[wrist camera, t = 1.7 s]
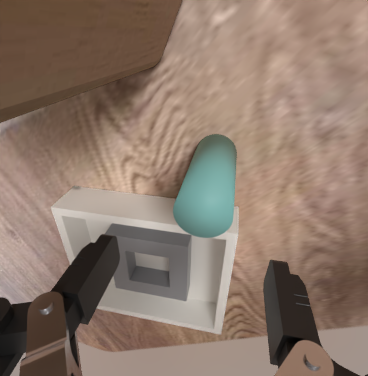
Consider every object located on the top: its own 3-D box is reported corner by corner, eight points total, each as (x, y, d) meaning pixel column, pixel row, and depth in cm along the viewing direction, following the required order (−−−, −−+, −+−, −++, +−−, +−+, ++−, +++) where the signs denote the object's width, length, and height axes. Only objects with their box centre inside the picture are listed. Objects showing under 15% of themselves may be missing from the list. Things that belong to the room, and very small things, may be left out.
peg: (239, 136, 23) (237, 193, 15) (234, 173, 25) (229, 241, 17) (196, 132, 24) (172, 185, 16) (195, 169, 26) (173, 233, 18)
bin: (238, 206, 27) (238, 233, 24) (223, 304, 37) (220, 334, 33) (74, 185, 31) (50, 207, 27) (99, 280, 40) (84, 306, 36)
